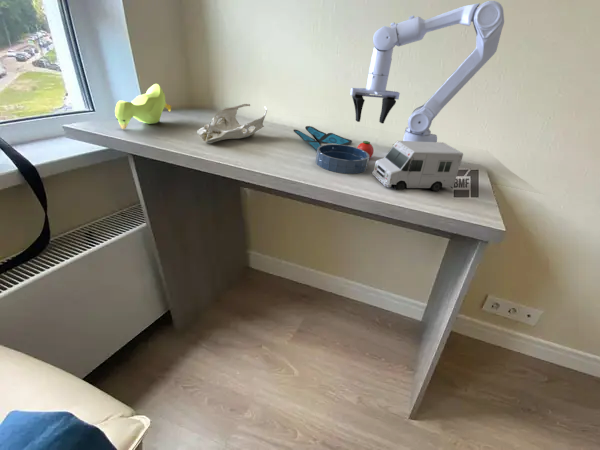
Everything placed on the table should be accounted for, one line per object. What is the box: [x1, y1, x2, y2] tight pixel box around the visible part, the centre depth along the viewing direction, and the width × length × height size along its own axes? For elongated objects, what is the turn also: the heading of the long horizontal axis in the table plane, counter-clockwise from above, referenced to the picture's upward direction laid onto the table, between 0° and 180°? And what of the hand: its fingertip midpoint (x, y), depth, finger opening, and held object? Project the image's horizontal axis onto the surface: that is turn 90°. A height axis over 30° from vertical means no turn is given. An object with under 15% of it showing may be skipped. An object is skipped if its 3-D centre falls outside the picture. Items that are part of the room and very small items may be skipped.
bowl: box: [315, 144, 370, 175], centre depth 101 cm, size 14×14×4 cm
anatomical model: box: [196, 103, 268, 144], centre depth 114 cm, size 15×9×25 cm
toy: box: [114, 83, 172, 130], centre depth 117 cm, size 6×17×20 cm
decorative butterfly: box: [293, 125, 353, 152], centre depth 117 cm, size 20×14×3 cm
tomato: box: [356, 140, 375, 159], centre depth 108 cm, size 5×5×5 cm
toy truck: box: [371, 140, 464, 192], centre depth 92 cm, size 13×20×10 cm, turn 90°
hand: (369, 121), depth 112 cm, fingers open, 7 cm apart
